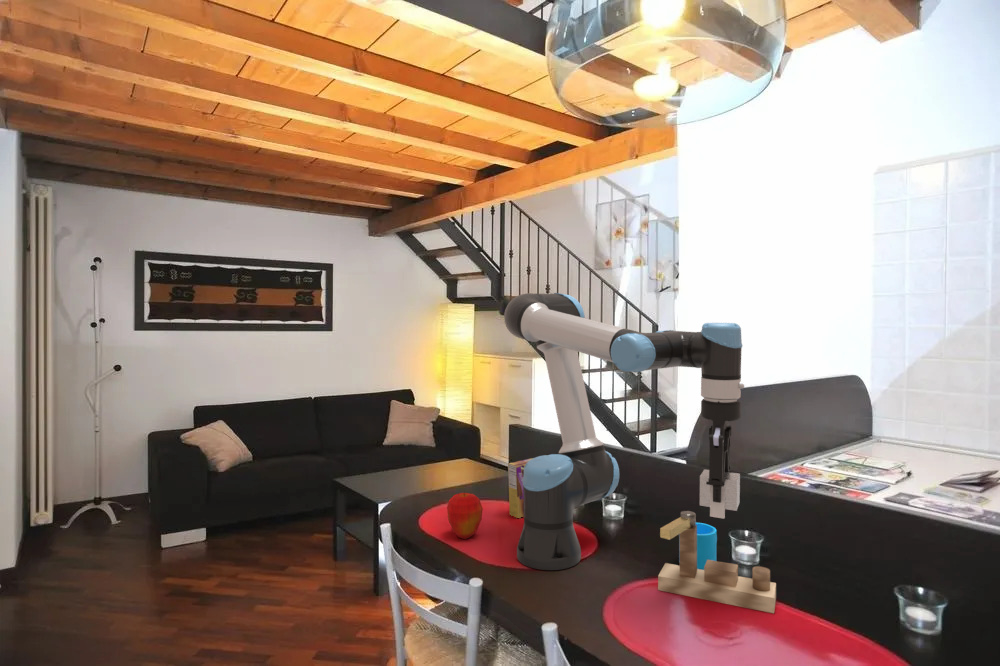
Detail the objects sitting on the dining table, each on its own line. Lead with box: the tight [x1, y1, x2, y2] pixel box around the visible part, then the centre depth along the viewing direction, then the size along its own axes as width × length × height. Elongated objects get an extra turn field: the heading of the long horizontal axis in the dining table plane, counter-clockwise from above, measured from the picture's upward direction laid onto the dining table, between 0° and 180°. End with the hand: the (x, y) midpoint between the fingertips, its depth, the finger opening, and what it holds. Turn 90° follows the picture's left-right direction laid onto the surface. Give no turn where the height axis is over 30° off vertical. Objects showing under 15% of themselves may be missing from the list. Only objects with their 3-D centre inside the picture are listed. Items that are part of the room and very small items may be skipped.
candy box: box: [507, 458, 532, 519], centre depth 171 cm, size 9×4×15 cm, turn 127°
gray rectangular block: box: [699, 469, 741, 512], centre depth 121 cm, size 7×6×6 cm
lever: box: [659, 510, 697, 541], centre depth 121 cm, size 12×3×2 cm, turn 137°
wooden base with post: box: [657, 525, 777, 614], centre depth 122 cm, size 22×7×13 cm, turn 62°
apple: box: [446, 492, 484, 540], centre depth 155 cm, size 9×9×12 cm
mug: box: [678, 522, 718, 570], centre depth 138 cm, size 12×8×8 cm
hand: (719, 511), depth 121 cm, fingers closed on gray rectangular block, 5 cm apart
